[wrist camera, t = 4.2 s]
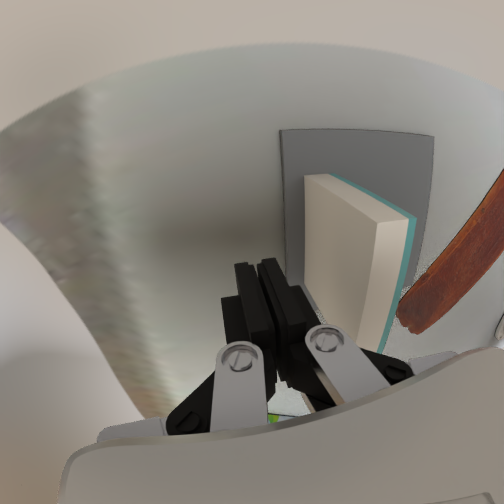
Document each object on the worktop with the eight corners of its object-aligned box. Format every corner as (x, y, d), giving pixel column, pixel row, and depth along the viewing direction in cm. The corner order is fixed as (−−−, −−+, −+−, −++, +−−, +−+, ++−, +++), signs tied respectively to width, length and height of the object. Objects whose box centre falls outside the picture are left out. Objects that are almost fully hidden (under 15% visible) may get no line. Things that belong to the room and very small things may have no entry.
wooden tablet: (520, 131, 16) (530, 135, 14) (529, 195, 20) (537, 199, 19) (382, 298, 21) (392, 309, 20) (410, 340, 25) (418, 350, 24)
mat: (430, 136, 14) (434, 136, 14) (409, 282, 20) (412, 284, 20) (279, 130, 13) (281, 130, 13) (286, 312, 19) (288, 315, 18)
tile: (334, 173, 14) (416, 218, 8) (329, 278, 18) (381, 354, 11) (304, 175, 14) (377, 222, 8) (304, 283, 17) (349, 364, 11)
